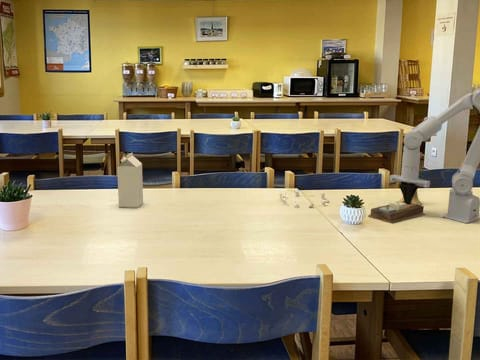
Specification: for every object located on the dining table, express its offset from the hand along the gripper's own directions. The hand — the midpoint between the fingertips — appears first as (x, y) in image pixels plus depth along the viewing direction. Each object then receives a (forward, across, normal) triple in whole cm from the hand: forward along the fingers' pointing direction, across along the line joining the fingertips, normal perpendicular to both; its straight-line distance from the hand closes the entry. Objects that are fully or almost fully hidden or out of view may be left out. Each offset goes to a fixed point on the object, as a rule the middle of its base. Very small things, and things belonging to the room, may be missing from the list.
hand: (407, 203), depth 192 cm
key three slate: (+2, +1, +11) cm, 11 cm away
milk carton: (+4, +70, +70) cm, 99 cm away
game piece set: (+4, +34, +16) cm, 38 cm away
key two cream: (+1, 0, +6) cm, 6 cm away
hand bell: (+4, +7, -13) cm, 15 cm away
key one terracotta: (+2, 0, 0) cm, 2 cm away
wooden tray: (+3, 0, +6) cm, 6 cm away
